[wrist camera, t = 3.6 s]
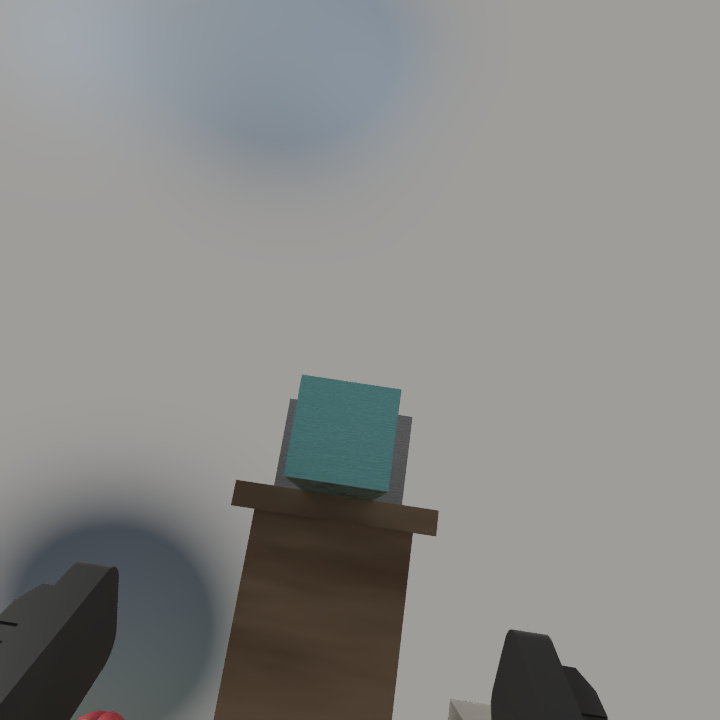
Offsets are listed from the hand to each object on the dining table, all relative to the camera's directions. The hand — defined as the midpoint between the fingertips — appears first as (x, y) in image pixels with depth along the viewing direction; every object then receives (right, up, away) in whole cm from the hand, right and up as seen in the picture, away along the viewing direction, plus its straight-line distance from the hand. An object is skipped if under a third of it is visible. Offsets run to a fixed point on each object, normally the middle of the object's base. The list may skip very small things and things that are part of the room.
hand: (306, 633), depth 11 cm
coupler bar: (0, -1, +17) cm, 17 cm away
